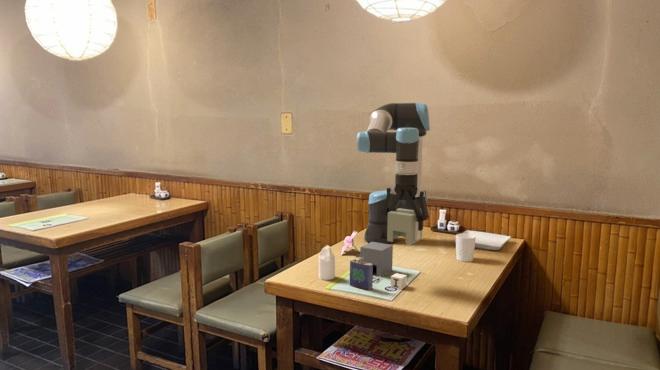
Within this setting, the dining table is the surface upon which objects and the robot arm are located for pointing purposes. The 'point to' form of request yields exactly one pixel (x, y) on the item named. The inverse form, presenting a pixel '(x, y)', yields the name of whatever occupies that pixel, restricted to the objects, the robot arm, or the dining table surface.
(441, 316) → the dining table surface
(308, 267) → the dining table surface
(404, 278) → the letter cube
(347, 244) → the lily
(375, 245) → the slate cover
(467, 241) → the white cup
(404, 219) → the olive cover
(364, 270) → the flask
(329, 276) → the white bottle
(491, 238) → the salad plate
